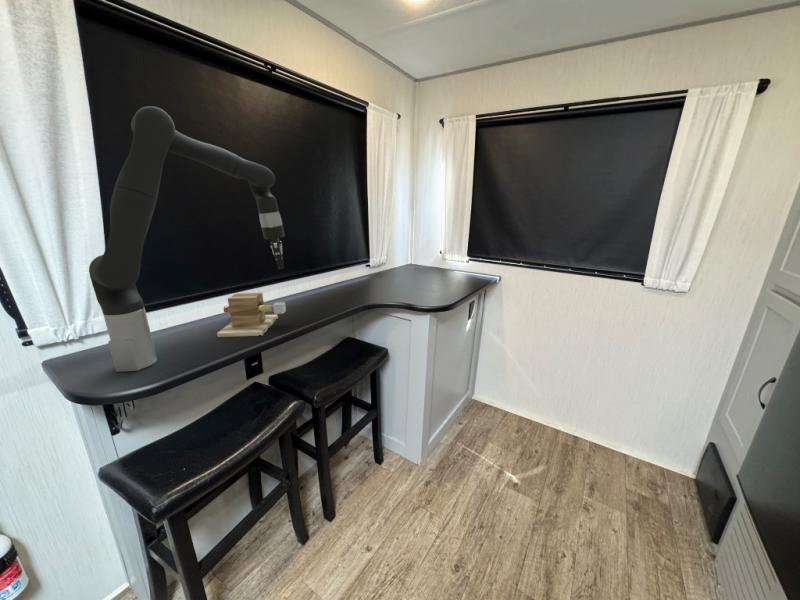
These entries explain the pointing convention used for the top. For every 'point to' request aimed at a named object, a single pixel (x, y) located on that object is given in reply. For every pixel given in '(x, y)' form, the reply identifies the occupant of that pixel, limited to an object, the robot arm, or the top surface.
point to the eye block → (247, 316)
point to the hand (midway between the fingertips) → (281, 266)
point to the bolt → (267, 308)
